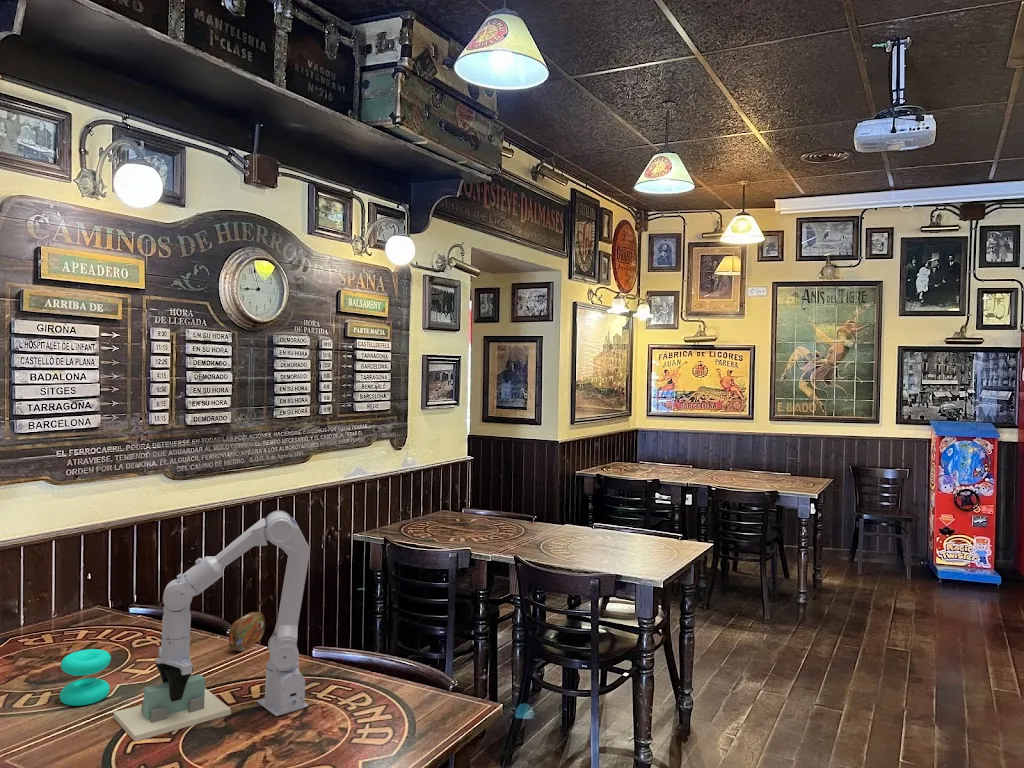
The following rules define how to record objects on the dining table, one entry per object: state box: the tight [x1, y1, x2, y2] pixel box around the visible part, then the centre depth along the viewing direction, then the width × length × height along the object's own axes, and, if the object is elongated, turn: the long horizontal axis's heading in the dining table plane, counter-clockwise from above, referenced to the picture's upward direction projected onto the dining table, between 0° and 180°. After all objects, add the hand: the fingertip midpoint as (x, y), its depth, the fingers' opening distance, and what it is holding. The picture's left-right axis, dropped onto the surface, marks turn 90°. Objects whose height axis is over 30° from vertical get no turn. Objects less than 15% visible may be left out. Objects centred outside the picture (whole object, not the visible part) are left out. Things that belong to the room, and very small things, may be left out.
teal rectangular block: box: [143, 673, 206, 720], centre depth 165 cm, size 3×12×6 cm, turn 134°
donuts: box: [59, 648, 112, 707], centre depth 171 cm, size 10×10×10 cm
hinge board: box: [112, 688, 232, 742], centre depth 164 cm, size 14×20×4 cm
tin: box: [228, 611, 266, 652], centre depth 208 cm, size 15×3×8 cm, turn 168°
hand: (173, 697), depth 164 cm, fingers closed on teal rectangular block, 3 cm apart
